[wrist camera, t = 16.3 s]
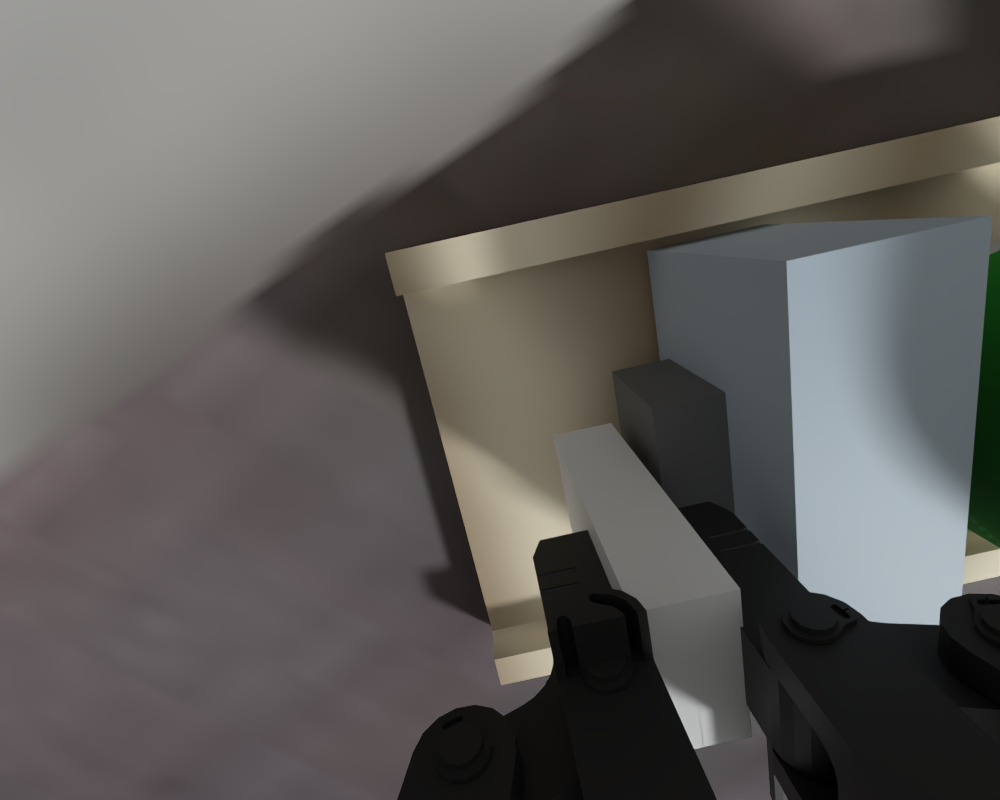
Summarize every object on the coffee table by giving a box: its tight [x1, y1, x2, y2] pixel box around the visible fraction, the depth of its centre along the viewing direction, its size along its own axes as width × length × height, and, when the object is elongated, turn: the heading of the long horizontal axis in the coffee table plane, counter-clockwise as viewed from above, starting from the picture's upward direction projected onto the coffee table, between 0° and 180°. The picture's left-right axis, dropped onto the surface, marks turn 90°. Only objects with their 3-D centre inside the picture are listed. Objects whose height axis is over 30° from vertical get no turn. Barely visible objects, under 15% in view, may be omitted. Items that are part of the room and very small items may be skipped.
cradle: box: [385, 116, 1000, 685], centre depth 13 cm, size 24×13×7 cm, turn 102°
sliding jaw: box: [612, 215, 992, 625], centre depth 12 cm, size 5×10×6 cm, turn 12°
